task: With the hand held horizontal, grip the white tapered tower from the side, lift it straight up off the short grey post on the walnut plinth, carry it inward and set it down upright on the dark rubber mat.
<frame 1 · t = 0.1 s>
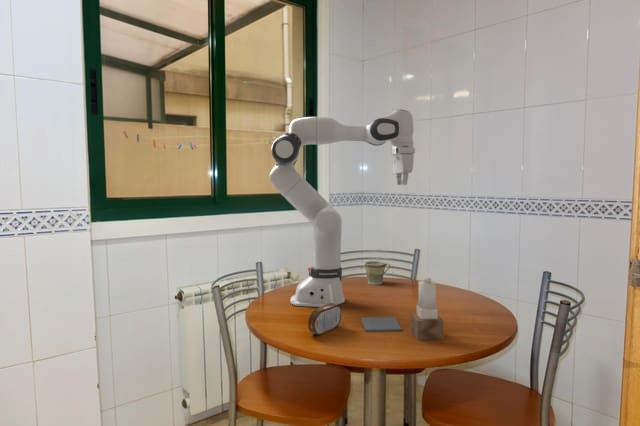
hand: (401, 184, 167), 48 cm above the table, tool pointing down, fingers open, 8 cm apart
ceramic cup: (377, 283, 200), on the table
white tapered tower: (426, 316, 130), point 6 cm above the table, touching post plinth
tin: (325, 331, 134), on the table
mat: (380, 324, 140), on the table
post plinth: (426, 335, 130), on the table
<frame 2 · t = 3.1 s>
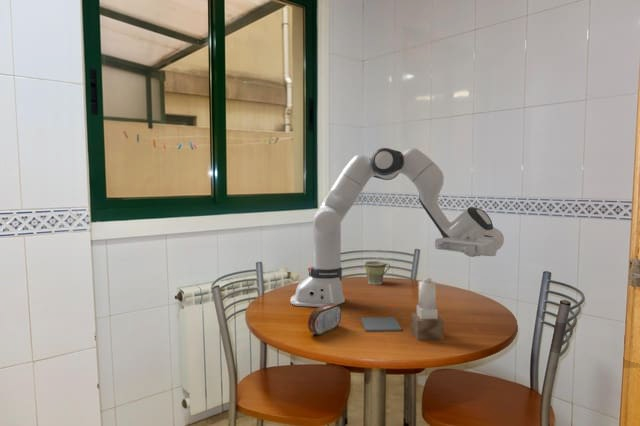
hand: (450, 248, 136), 27 cm above the table, tool horizontal, fingers open, 8 cm apart
nothing on the table moved.
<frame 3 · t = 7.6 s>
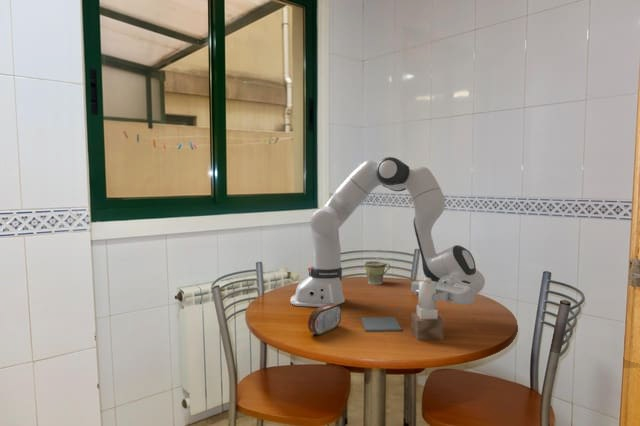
hand: (425, 295, 128), 13 cm above the table, tool horizontal, fingers closed on white tapered tower, 5 cm apart
white tapered tower: (426, 316, 130), point 6 cm above the table, touching gripper, post plinth
everything else where it was.
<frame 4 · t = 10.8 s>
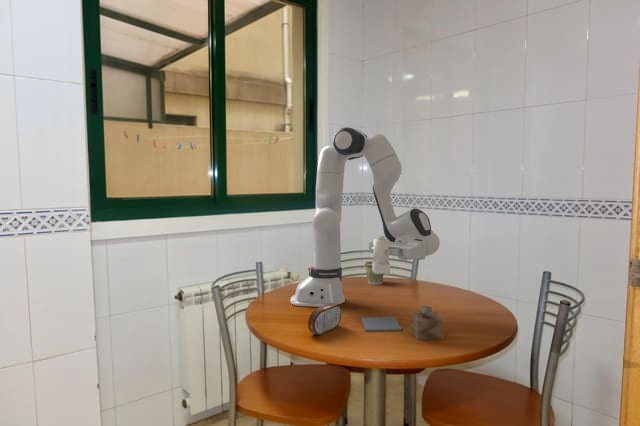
hand: (379, 251, 137), 25 cm above the table, tool horizontal, fingers closed on white tapered tower, 5 cm apart
white tapered tower: (381, 271, 138), point 18 cm above the table, touching gripper
everything else where it was.
when the fingers open (9 cm above the table, at t = 14.2 s): white tapered tower drops 1 cm, resting on mat.
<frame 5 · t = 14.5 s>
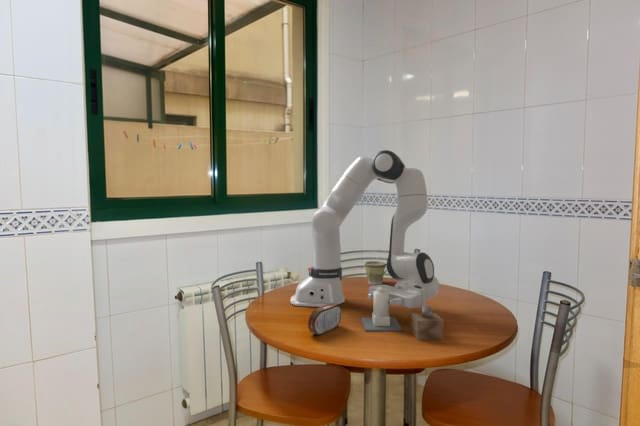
hand: (379, 299, 138), 9 cm above the table, tool horizontal, fingers open, 8 cm apart
white tapered tower: (381, 323, 139), point 1 cm above the table, touching mat
everything else where it was.
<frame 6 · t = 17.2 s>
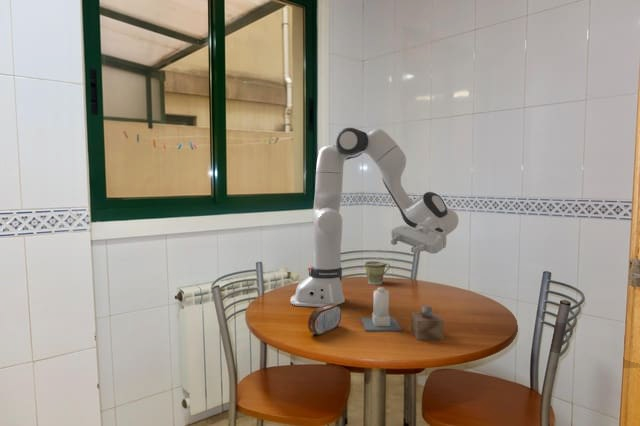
hand: (402, 246, 146), 26 cm above the table, tool tilted 75°, fingers open, 8 cm apart
nothing on the table moved.
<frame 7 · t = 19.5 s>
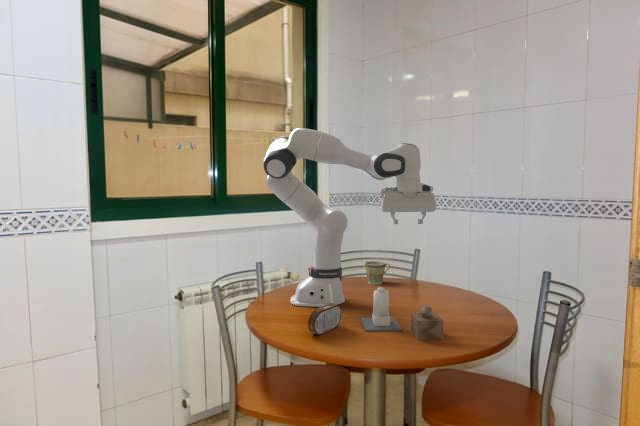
hand: (408, 224, 154), 33 cm above the table, tool pointing down, fingers open, 8 cm apart
nothing on the table moved.
at the end: white tapered tower inside the target area on the mat (0.1 cm from its centre), point 0.6 cm above the mat's base; white tapered tower tilted 0°; the gripper is holding nothing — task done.
